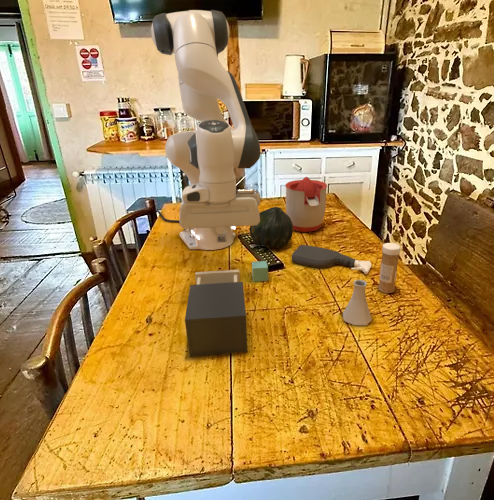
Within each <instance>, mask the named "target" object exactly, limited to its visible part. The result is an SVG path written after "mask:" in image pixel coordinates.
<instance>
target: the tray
mask: <svg viewBox="0 0 494 500" xmlns="http://www.w3.org/2000/svg"><path fill="white" fill-rule="evenodd" d="M240 275H241V273H240V269H225V270H209V271H195V272H194V277H195V279H194V280H195V285H199V284H214V283H230V282H241V277H240Z"/></svg>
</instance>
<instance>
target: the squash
mask: <svg viewBox="0 0 494 500" xmlns="http://www.w3.org/2000/svg"><path fill="white" fill-rule="evenodd" d="M259 215H260V222H259V224H258V225H254V226H249V234H250V235H249V236H250V237H251V239H252V243H254V245H256V246H258V247H264V248H268V247H270V248H276V249H281V248H284V247H285V246H287V245H288V244H289V243H290V242H291V240H292V238H293V234H294V233H293V232H294V229H293V224H292V221H291V219H290V217H289V216H288V215H287V213H286V212H285V211H284V210H283V209H282V208H281V207H278V206H274V207H270V208H267V209H264V210H262V211H259ZM262 245H263V246H262Z"/></svg>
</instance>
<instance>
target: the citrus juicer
mask: <svg viewBox="0 0 494 500" xmlns="http://www.w3.org/2000/svg"><path fill="white" fill-rule="evenodd" d="M284 187H285V211H286V212H285V213H286V214H287V215H288V216H289V217H290V219H291V221H292V224H293V231H297V232H299V233H301V232H304V233H306V232H307V233H308V232H309V233H310V232H315V231H318V230H319V229H320V228H321V226H322V224H323V221H324V218H325V214H326V208H327V207H326V205H327V204H326V203H327V188H328V184H327V183H326V182H324V181H321V180H317V179H316V180H315V179H310V178H309V177H308V176H305V177H303V178H302V179H296V180H291V181H288V182H286V183H285V186H284Z"/></svg>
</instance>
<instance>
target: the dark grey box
mask: <svg viewBox="0 0 494 500" xmlns="http://www.w3.org/2000/svg"><path fill="white" fill-rule="evenodd" d="M244 290H245V289H244V281H240V282H230V283H214V284H199V285H196V284H189V291H188V297H187V304H186V311H185V315H184V316H185V317H184V323H185V324H184V325H185V332H186V338H187V339H186V342H187V349H188V356H189V358H192V357H193V358H194V357H203V356H204V357H205V356H217V355H229V354H239V353H240V354H241V353H248V351H249V350H248V333H247V332H248V330H247V329H248V328H247V313H246V301H245V292H244Z"/></svg>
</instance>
